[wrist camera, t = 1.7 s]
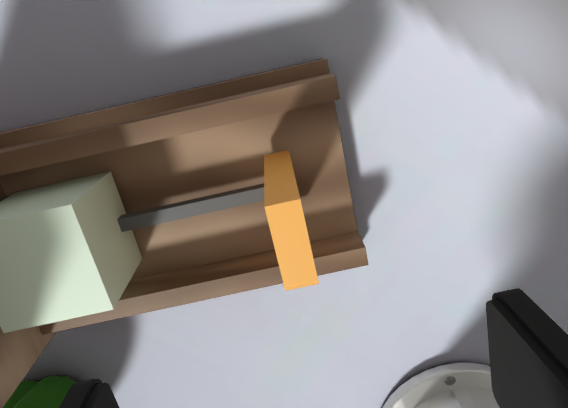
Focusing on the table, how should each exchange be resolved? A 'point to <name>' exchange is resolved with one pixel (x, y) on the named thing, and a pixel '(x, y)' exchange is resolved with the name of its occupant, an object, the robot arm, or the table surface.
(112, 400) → the robot arm
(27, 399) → the bell pepper
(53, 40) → the table surface
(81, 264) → the lane block
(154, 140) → the shelf lane
